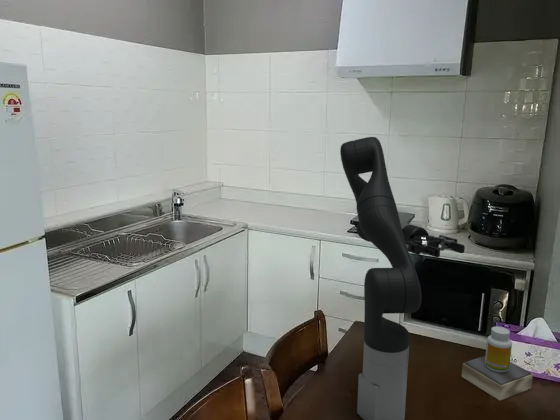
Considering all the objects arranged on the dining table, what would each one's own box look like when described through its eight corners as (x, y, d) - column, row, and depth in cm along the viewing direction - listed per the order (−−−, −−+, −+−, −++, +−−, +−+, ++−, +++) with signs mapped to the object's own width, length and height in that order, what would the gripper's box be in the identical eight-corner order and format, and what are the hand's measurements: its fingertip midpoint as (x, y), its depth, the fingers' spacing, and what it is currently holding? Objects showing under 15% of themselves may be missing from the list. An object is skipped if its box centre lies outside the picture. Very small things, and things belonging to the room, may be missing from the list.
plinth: (499, 400, 104) (501, 384, 103) (461, 376, 113) (462, 361, 113) (531, 388, 108) (533, 373, 108) (492, 366, 118) (493, 352, 117)
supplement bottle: (512, 374, 107) (516, 336, 105) (487, 371, 108) (491, 334, 106) (505, 362, 112) (509, 326, 110) (482, 360, 113) (486, 324, 111)
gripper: (388, 226, 127) (431, 240, 112) (427, 222, 133) (472, 234, 118) (387, 252, 128) (429, 269, 114) (425, 246, 134) (470, 261, 120)
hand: (451, 251), depth 116 cm, fingers open, 8 cm apart
